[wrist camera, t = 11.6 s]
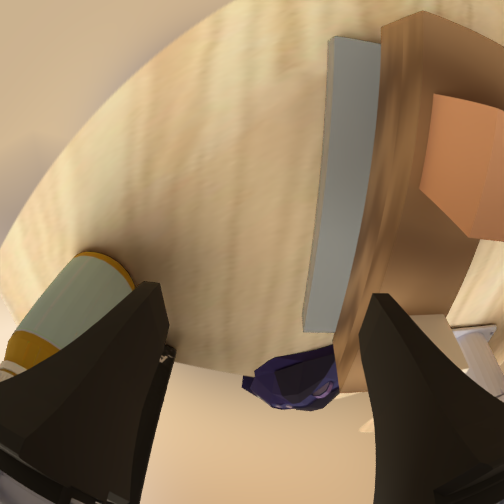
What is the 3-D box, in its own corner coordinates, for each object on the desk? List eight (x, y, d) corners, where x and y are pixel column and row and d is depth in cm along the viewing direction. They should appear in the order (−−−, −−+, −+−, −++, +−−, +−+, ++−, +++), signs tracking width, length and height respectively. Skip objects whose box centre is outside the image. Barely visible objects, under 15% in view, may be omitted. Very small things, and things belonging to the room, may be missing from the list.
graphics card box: (122, 314, 26) (23, 581, 3) (185, 348, 28) (124, 616, 5) (95, 380, 34) (36, 546, 11) (139, 402, 36) (93, 570, 13)
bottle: (147, 315, 25) (86, 467, 13) (85, 306, 26) (15, 432, 13) (130, 249, 22) (29, 419, 9) (63, 245, 22) (-40, 377, 9)
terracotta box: (485, 200, 10) (536, 245, 7) (419, 188, 11) (468, 237, 7) (502, 118, 8) (565, 144, 5) (433, 93, 8) (498, 108, 5)
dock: (410, 314, 23) (418, 333, 21) (301, 314, 24) (303, 335, 22) (470, 77, 13) (490, 80, 11) (327, 40, 13) (335, 35, 11)
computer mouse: (221, 376, 30) (216, 407, 27) (338, 312, 24) (345, 348, 21) (277, 407, 33) (276, 435, 30) (385, 357, 27) (393, 388, 24)
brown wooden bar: (388, 339, 22) (403, 388, 18) (332, 340, 23) (339, 393, 18) (458, 51, 11) (512, 52, 6) (381, 27, 11) (423, 10, 7)
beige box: (419, 358, 16) (435, 409, 13) (364, 362, 16) (374, 418, 13) (443, 313, 14) (469, 368, 11) (383, 315, 14) (402, 378, 11)
